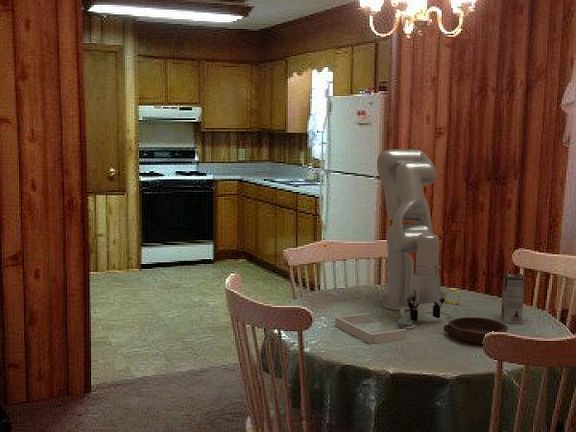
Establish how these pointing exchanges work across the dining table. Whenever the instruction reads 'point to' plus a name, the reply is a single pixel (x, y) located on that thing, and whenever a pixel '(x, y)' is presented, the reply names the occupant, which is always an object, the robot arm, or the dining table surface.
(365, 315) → the box
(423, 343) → the dining table surface
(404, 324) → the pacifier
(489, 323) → the dish
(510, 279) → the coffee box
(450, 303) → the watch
